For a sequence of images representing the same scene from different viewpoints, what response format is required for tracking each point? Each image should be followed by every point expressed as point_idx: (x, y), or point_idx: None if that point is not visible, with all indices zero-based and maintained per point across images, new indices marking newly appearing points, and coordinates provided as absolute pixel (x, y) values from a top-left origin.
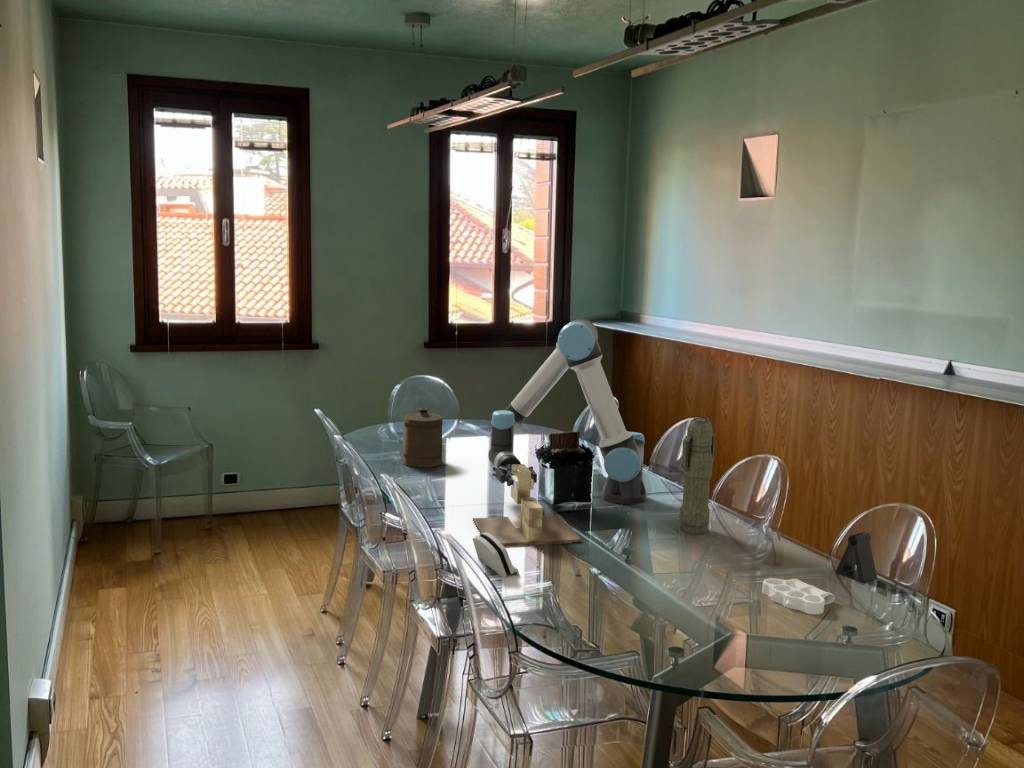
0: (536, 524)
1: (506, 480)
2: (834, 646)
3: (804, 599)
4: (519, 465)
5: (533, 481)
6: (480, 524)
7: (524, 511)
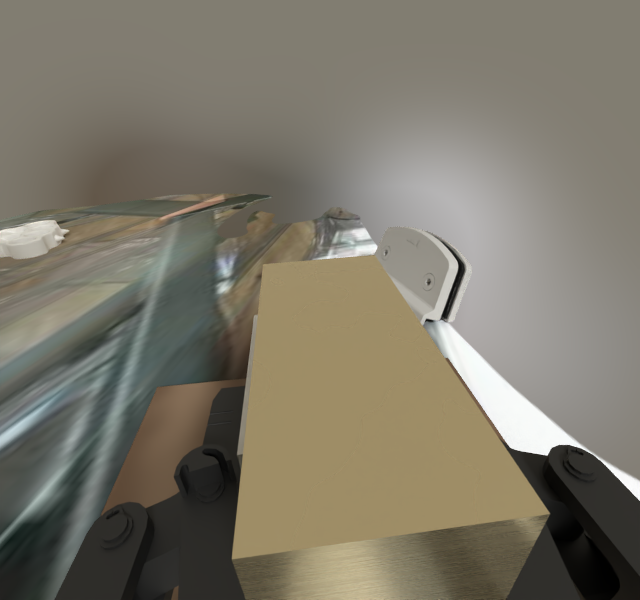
0: None
1: None
2: (109, 212)
3: (51, 222)
4: (359, 443)
5: (257, 317)
6: None
7: None
